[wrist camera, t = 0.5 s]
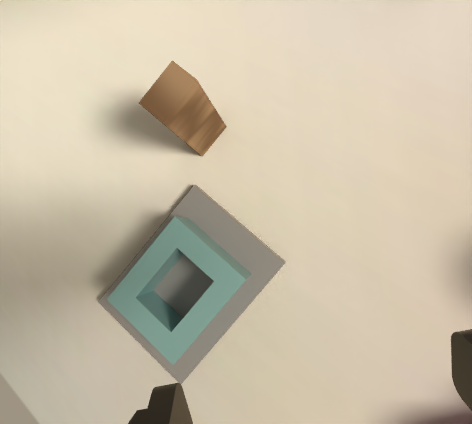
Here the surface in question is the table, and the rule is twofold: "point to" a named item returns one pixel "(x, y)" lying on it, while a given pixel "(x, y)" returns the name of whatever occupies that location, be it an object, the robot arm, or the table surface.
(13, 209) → the table surface
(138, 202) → the table surface
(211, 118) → the block
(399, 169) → the table surface
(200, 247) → the teal and grey socket
